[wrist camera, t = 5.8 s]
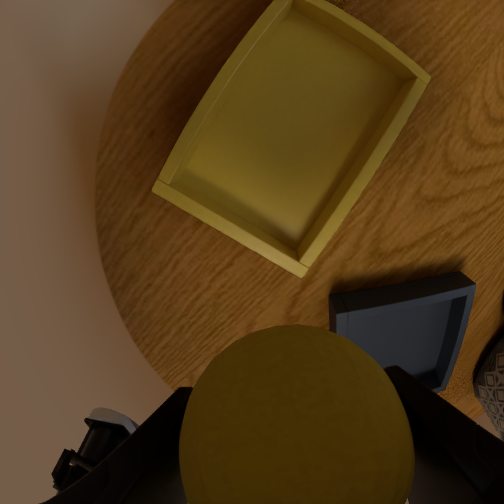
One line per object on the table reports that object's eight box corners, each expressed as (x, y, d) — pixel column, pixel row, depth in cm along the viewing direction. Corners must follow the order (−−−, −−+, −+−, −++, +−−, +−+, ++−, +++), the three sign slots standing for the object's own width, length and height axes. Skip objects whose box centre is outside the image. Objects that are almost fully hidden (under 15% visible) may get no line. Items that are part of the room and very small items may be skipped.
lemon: (330, 396, 11) (382, 563, 3) (197, 394, 10) (179, 584, 3) (370, 281, 9) (522, 484, 1) (198, 268, 8) (126, 578, 1)
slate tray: (328, 399, 23) (332, 419, 21) (328, 294, 20) (335, 313, 17) (436, 373, 22) (445, 389, 20) (460, 270, 18) (476, 283, 16)
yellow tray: (297, 263, 19) (301, 279, 16) (165, 185, 17) (150, 191, 15) (413, 83, 14) (432, 77, 12) (286, 0, 13) (288, -18, 10)
